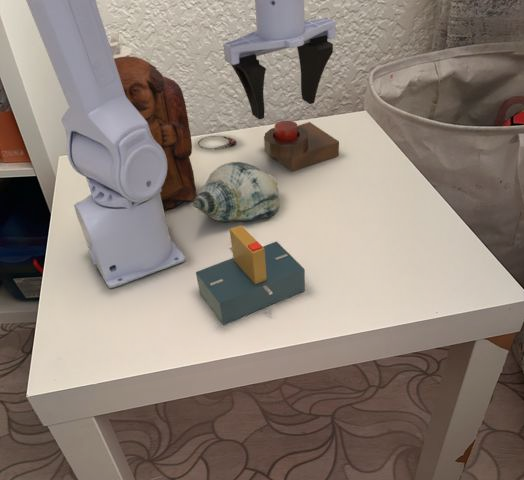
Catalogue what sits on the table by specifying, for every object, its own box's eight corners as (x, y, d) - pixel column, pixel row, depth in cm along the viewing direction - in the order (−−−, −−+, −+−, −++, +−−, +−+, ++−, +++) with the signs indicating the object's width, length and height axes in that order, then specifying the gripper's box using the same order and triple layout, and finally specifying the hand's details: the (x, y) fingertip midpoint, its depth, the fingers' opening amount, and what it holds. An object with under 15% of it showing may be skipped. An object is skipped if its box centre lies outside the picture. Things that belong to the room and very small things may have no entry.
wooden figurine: (117, 222, 71) (73, 78, 58) (111, 198, 76) (69, 59, 63) (204, 202, 73) (181, 59, 60) (193, 180, 78) (170, 41, 65)
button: (282, 145, 76) (281, 132, 74) (270, 136, 78) (270, 124, 76) (301, 138, 77) (301, 126, 75) (290, 130, 79) (289, 118, 77)
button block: (279, 176, 77) (278, 149, 74) (252, 153, 82) (250, 127, 79) (338, 156, 80) (340, 129, 77) (309, 135, 85) (309, 109, 82)
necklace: (232, 153, 83) (232, 147, 82) (194, 148, 84) (193, 142, 84) (240, 140, 86) (240, 134, 85) (203, 135, 87) (202, 129, 86)
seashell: (287, 223, 72) (197, 240, 70) (273, 176, 74) (185, 192, 72) (293, 194, 66) (194, 211, 64) (277, 144, 68) (182, 160, 66)
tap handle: (233, 260, 59) (229, 227, 56) (244, 255, 60) (241, 222, 57) (255, 285, 56) (252, 251, 53) (267, 280, 57) (264, 246, 54)
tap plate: (229, 334, 56) (226, 311, 54) (193, 285, 62) (189, 262, 59) (312, 298, 59) (312, 275, 56) (271, 255, 65) (269, 233, 62)
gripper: (238, 10, 58) (249, 134, 68) (352, -17, 62) (346, 104, 72) (210, -4, 62) (224, 115, 72) (318, -29, 66) (317, 87, 76)
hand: (283, 108), depth 72 cm, fingers open, 7 cm apart
